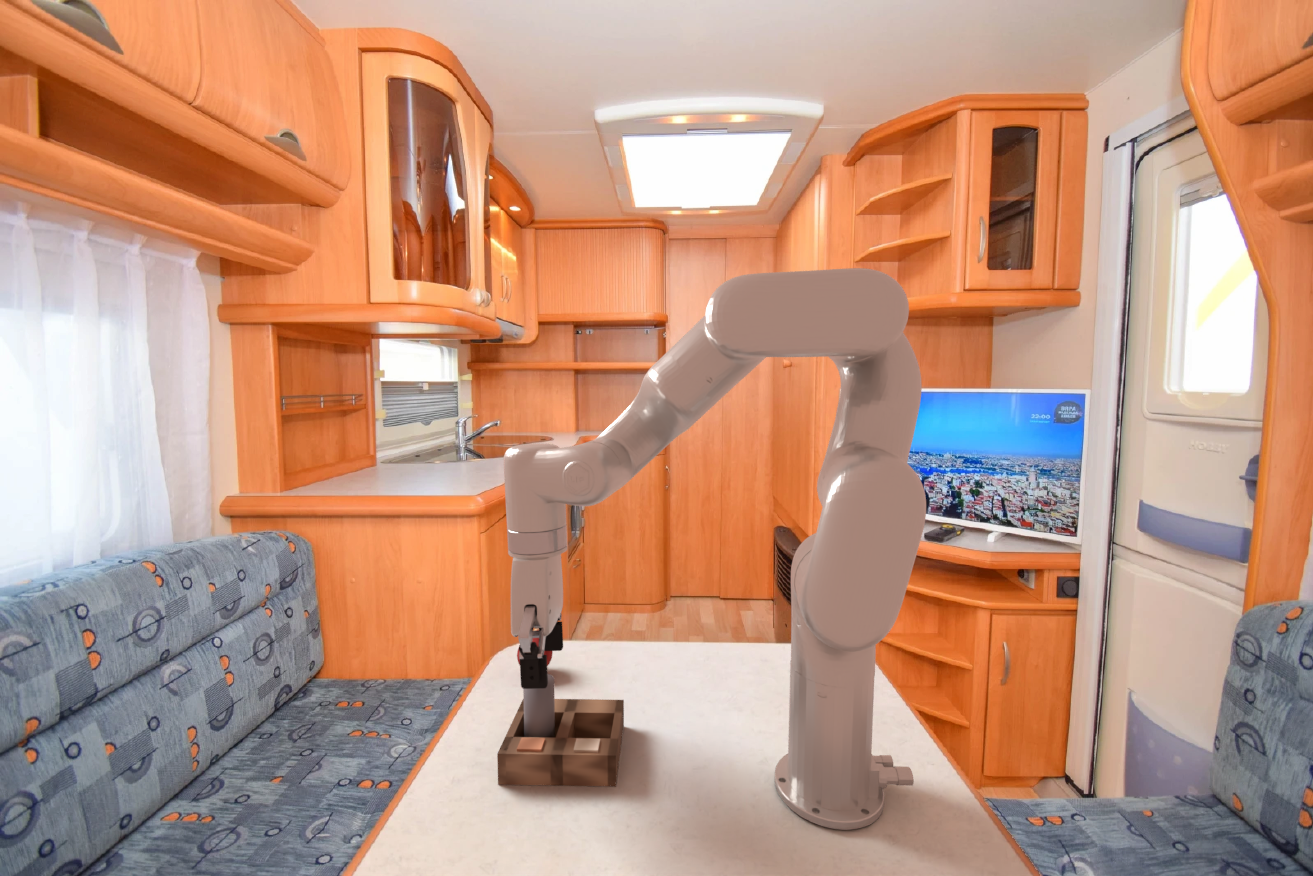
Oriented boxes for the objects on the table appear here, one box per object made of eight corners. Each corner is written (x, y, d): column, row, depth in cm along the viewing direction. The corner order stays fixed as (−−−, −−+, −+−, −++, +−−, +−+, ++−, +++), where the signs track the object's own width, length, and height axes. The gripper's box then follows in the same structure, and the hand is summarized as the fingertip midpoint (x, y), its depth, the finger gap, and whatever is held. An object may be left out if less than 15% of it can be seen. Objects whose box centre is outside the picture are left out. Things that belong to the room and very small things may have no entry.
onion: (520, 686, 89) (520, 639, 88) (514, 670, 94) (514, 625, 93) (556, 679, 91) (555, 633, 90) (548, 663, 96) (547, 620, 96)
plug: (557, 743, 74) (556, 673, 74) (551, 763, 70) (550, 689, 70) (528, 742, 74) (527, 673, 74) (521, 762, 70) (519, 689, 70)
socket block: (623, 726, 78) (623, 697, 78) (615, 786, 66) (615, 753, 66) (523, 724, 78) (523, 696, 78) (498, 784, 66) (497, 751, 66)
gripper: (526, 524, 79) (531, 638, 80) (486, 560, 61) (494, 705, 63) (577, 523, 78) (582, 637, 80) (552, 559, 61) (559, 704, 63)
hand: (543, 667), depth 71 cm, fingers open, 9 cm apart
